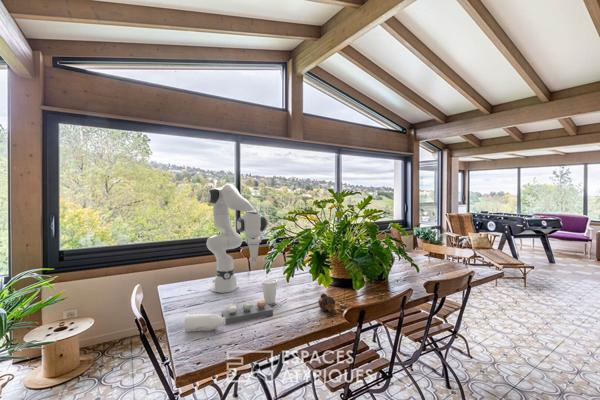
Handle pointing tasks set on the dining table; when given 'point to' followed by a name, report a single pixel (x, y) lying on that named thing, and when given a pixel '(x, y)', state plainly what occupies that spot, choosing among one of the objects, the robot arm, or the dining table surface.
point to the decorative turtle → (326, 303)
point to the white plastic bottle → (203, 322)
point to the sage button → (247, 307)
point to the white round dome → (232, 309)
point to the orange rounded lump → (261, 304)
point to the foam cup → (269, 290)
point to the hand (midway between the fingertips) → (254, 263)
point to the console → (247, 314)
